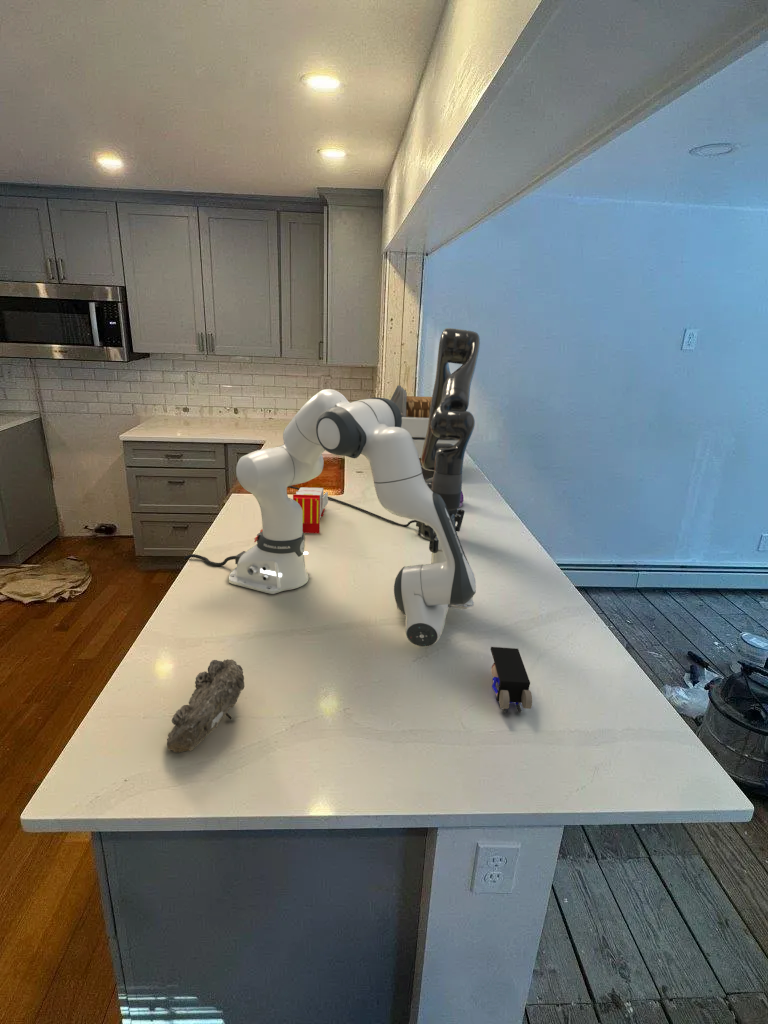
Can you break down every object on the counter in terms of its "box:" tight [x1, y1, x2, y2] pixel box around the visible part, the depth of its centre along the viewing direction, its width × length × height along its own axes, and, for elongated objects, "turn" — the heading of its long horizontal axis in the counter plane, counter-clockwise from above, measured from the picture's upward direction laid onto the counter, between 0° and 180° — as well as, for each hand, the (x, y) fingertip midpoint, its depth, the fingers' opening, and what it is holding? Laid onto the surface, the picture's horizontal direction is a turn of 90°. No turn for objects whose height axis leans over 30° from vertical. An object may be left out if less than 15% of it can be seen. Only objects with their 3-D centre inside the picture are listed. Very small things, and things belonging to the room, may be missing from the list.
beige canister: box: [430, 549, 446, 564], centre depth 152 cm, size 4×4×18 cm
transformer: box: [390, 384, 458, 467], centre depth 268 cm, size 34×33×41 cm
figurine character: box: [490, 646, 533, 714], centre depth 117 cm, size 7×8×15 cm
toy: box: [292, 486, 329, 534], centre depth 207 cm, size 12×13×30 cm
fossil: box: [166, 658, 245, 754], centre depth 106 cm, size 22×10×15 cm
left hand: (437, 578), depth 154 cm, fingers closed on beige canister, 4 cm apart
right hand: (440, 549), depth 150 cm, fingers closed on lid, 5 cm apart
